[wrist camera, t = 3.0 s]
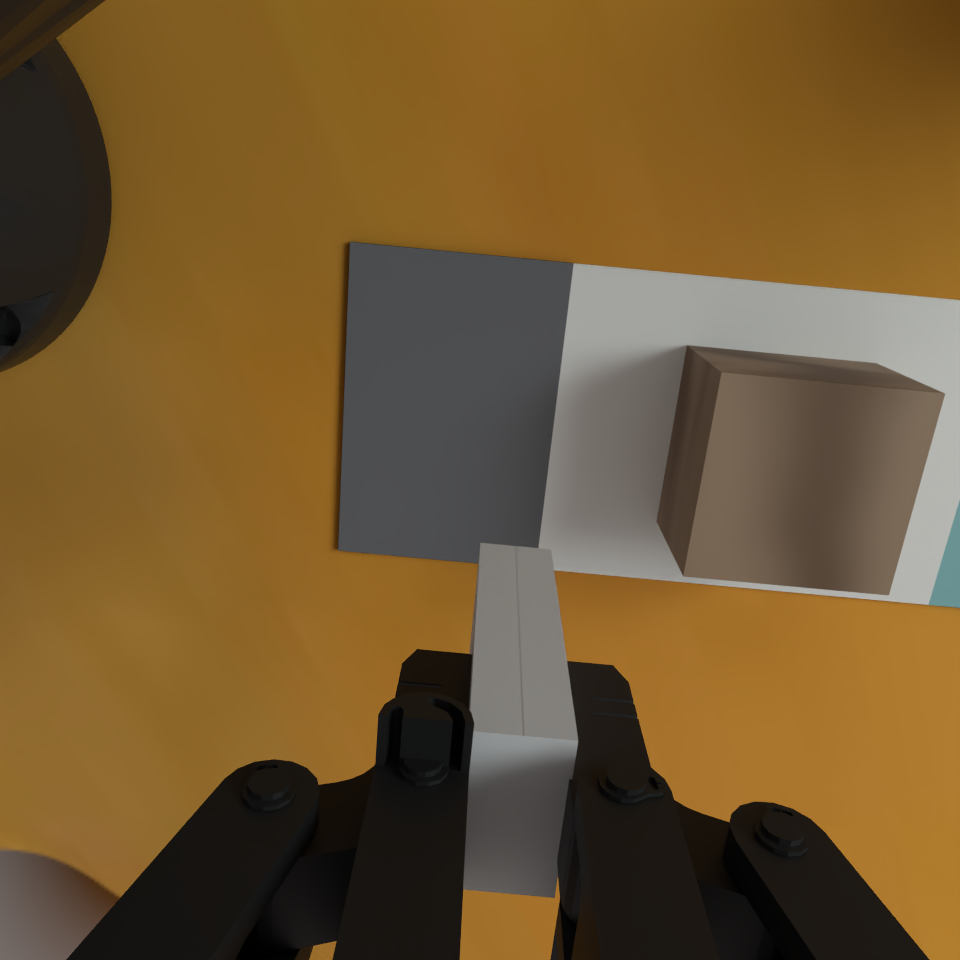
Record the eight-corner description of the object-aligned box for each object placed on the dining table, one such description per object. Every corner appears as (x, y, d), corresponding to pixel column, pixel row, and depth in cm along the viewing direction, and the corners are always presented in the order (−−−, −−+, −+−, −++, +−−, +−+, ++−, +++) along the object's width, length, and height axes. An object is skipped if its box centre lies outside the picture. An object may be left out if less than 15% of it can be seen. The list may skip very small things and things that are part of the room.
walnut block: (656, 521, 33) (683, 576, 28) (687, 345, 30) (721, 372, 26) (832, 537, 33) (888, 595, 28) (876, 363, 30) (945, 393, 26)
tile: (535, 562, 34) (535, 568, 33) (572, 262, 30) (573, 263, 30) (921, 597, 34) (928, 604, 34) (1007, 303, 30) (1017, 305, 30)
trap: (340, 544, 34) (338, 550, 33) (352, 241, 30) (350, 242, 29) (535, 562, 34) (535, 568, 33) (572, 262, 30) (573, 263, 30)
